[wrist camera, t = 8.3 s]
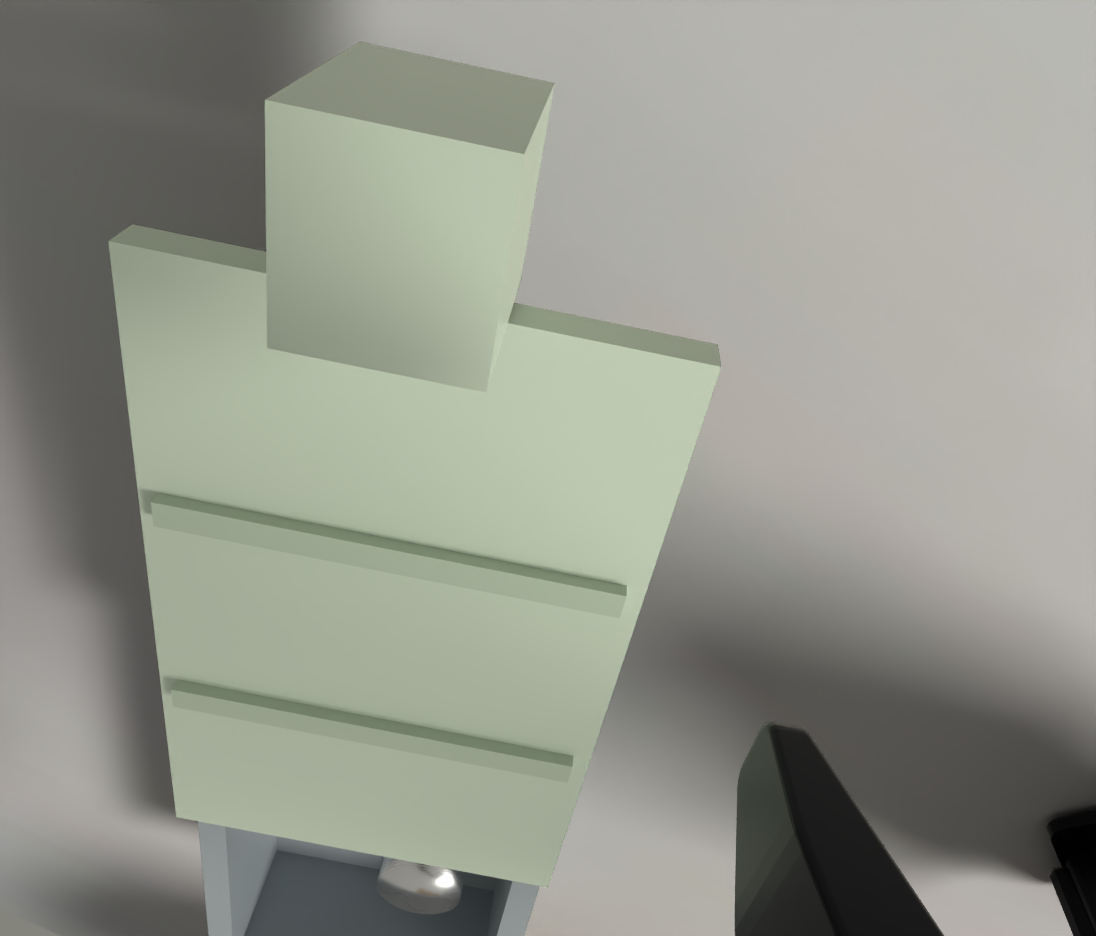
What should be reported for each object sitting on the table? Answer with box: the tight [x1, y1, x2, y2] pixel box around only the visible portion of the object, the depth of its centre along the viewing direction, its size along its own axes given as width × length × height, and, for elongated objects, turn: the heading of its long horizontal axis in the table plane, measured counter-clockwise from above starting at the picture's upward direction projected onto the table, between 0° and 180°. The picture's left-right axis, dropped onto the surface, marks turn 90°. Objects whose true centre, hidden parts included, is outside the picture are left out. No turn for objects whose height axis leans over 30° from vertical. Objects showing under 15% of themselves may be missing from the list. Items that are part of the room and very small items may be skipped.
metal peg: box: [377, 857, 465, 914], centre depth 30 cm, size 3×3×3 cm
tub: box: [198, 821, 540, 936], centre depth 28 cm, size 16×10×5 cm, turn 170°
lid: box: [108, 42, 721, 888], centre depth 17 cm, size 19×10×4 cm, turn 170°
